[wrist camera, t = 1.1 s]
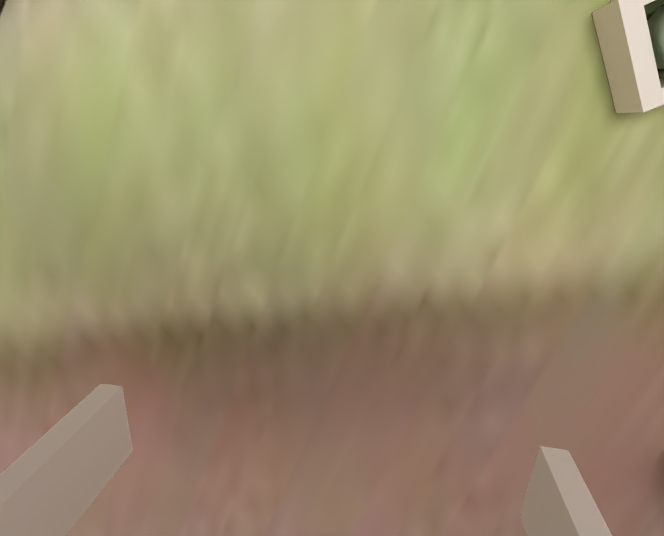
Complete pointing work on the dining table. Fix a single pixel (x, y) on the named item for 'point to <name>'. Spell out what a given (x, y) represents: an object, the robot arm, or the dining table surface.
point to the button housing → (629, 56)
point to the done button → (657, 35)
